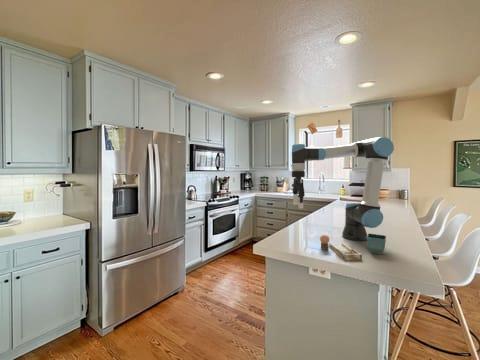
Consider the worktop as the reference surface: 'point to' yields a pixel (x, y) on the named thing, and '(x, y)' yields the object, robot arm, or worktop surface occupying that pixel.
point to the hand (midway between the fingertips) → (298, 206)
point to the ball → (324, 239)
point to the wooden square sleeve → (324, 246)
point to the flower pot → (376, 243)
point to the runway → (341, 248)
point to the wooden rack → (349, 255)
